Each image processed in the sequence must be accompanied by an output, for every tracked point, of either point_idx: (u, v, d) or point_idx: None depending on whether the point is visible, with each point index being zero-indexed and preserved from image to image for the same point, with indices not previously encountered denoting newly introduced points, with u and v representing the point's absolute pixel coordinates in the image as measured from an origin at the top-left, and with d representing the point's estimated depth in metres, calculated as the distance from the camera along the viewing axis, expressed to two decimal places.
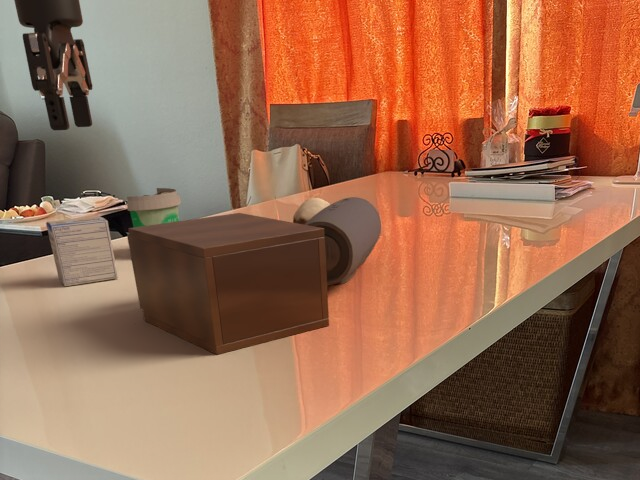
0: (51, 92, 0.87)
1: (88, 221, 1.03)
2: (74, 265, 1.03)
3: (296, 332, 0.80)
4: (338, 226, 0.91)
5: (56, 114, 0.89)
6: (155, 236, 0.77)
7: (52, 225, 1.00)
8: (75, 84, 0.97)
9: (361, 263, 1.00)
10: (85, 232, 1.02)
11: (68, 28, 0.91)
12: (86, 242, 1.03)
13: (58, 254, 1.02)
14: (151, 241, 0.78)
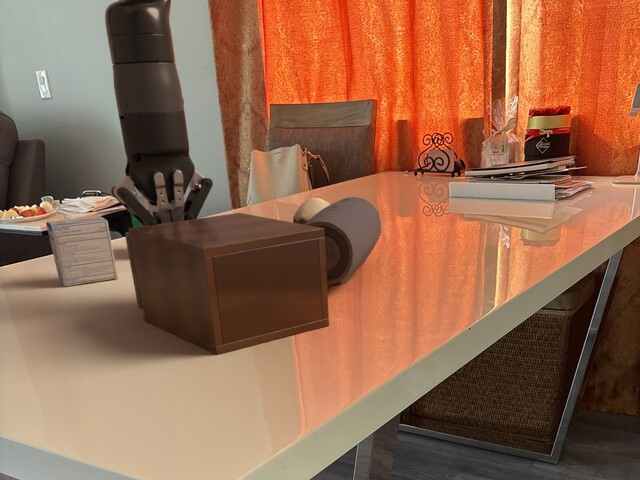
0: None
1: (88, 221, 1.03)
2: (74, 265, 1.03)
3: (296, 332, 0.80)
4: (338, 226, 0.91)
5: None
6: (155, 236, 0.77)
7: (52, 225, 1.00)
8: None
9: (361, 263, 1.00)
10: (85, 232, 1.02)
11: (177, 153, 0.86)
12: (86, 242, 1.03)
13: (58, 254, 1.02)
14: (151, 241, 0.78)
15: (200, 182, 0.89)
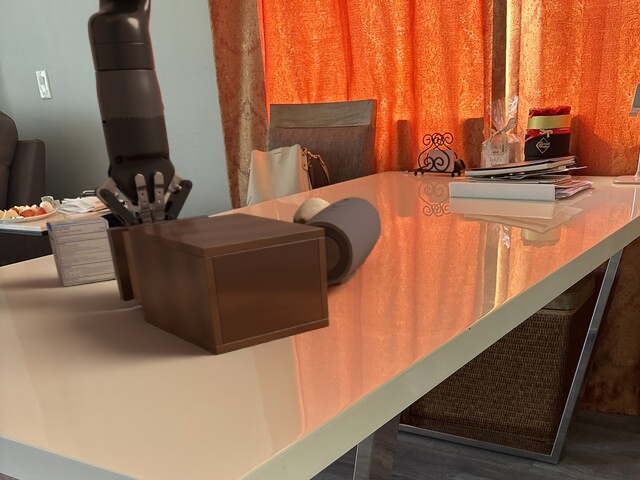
0: None
1: (88, 221, 1.03)
2: (74, 265, 1.03)
3: (296, 332, 0.80)
4: (338, 226, 0.91)
5: None
6: (155, 236, 0.77)
7: (52, 225, 1.00)
8: None
9: (361, 263, 1.00)
10: (85, 232, 1.02)
11: (157, 156, 0.90)
12: (86, 242, 1.03)
13: (58, 254, 1.02)
14: (151, 241, 0.78)
15: (180, 183, 0.93)
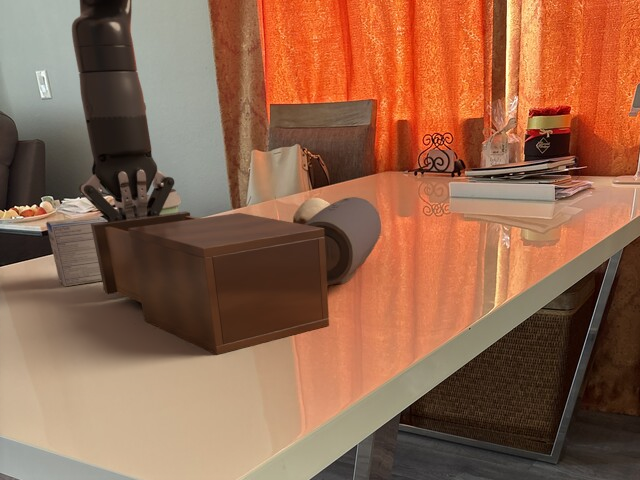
0: None
1: (88, 221, 1.02)
2: (74, 265, 1.03)
3: (296, 332, 0.80)
4: (338, 226, 0.91)
5: None
6: (155, 236, 0.77)
7: (52, 225, 1.00)
8: None
9: (361, 263, 1.00)
10: (85, 232, 1.02)
11: (139, 154, 0.93)
12: (86, 242, 1.03)
13: (58, 254, 1.02)
14: (151, 241, 0.78)
15: (162, 181, 0.97)
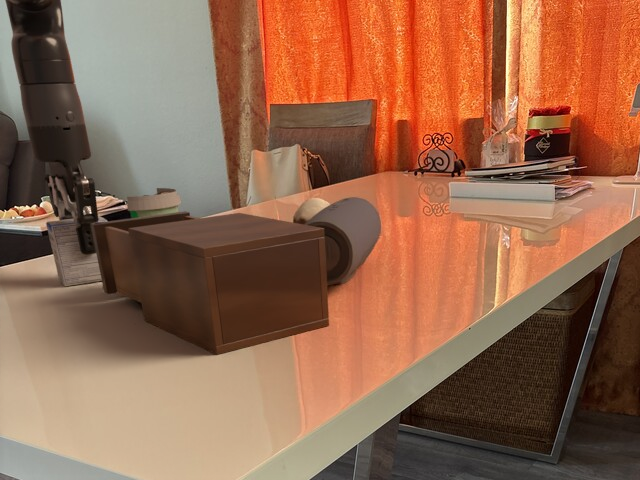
0: None
1: None
2: (74, 265, 1.03)
3: (296, 332, 0.80)
4: (338, 226, 0.91)
5: (91, 241, 1.02)
6: (155, 236, 0.77)
7: (52, 225, 1.00)
8: (64, 212, 1.05)
9: (361, 263, 1.00)
10: None
11: None
12: None
13: (58, 254, 1.02)
14: (151, 241, 0.78)
15: None
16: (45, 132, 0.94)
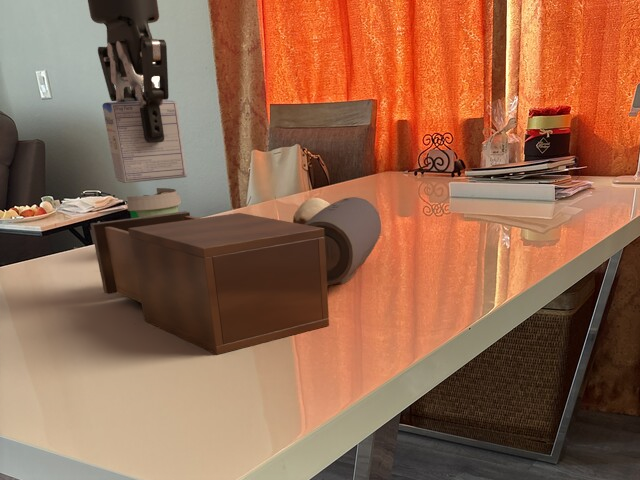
0: (159, 102, 0.82)
1: None
2: (136, 157, 0.85)
3: (296, 332, 0.80)
4: (338, 226, 0.91)
5: (158, 125, 0.84)
6: (155, 236, 0.77)
7: (112, 103, 0.82)
8: None
9: (361, 263, 1.00)
10: None
11: None
12: None
13: (118, 141, 0.83)
14: (151, 241, 0.78)
15: None
16: None
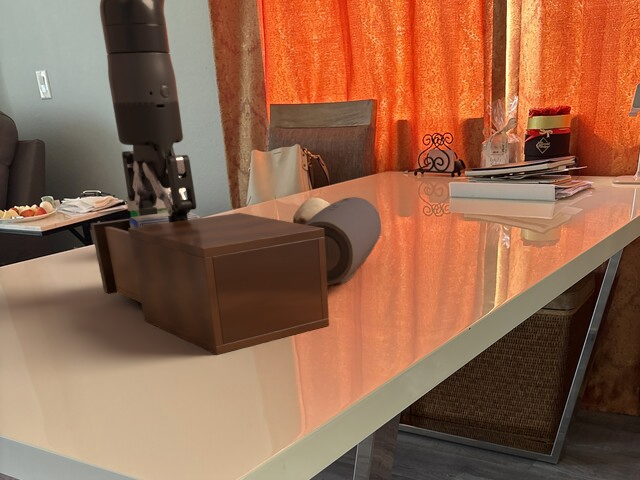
0: (187, 211, 0.86)
1: None
2: None
3: (296, 332, 0.80)
4: (338, 226, 0.91)
5: None
6: (155, 236, 0.77)
7: (139, 221, 0.87)
8: None
9: (361, 263, 1.00)
10: None
11: None
12: None
13: None
14: (151, 241, 0.78)
15: None
16: (136, 109, 0.81)
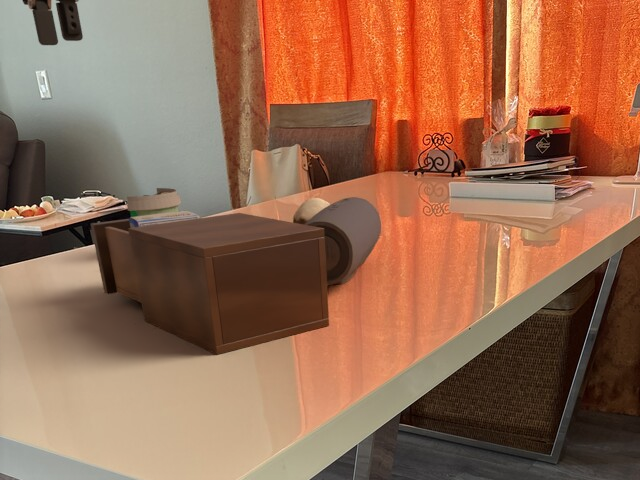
0: None
1: (178, 216, 0.89)
2: None
3: (296, 332, 0.80)
4: (338, 226, 0.91)
5: (75, 21, 0.83)
6: (155, 236, 0.77)
7: (139, 221, 0.87)
8: None
9: (361, 263, 1.00)
10: None
11: None
12: None
13: None
14: (151, 241, 0.78)
15: None
16: None
